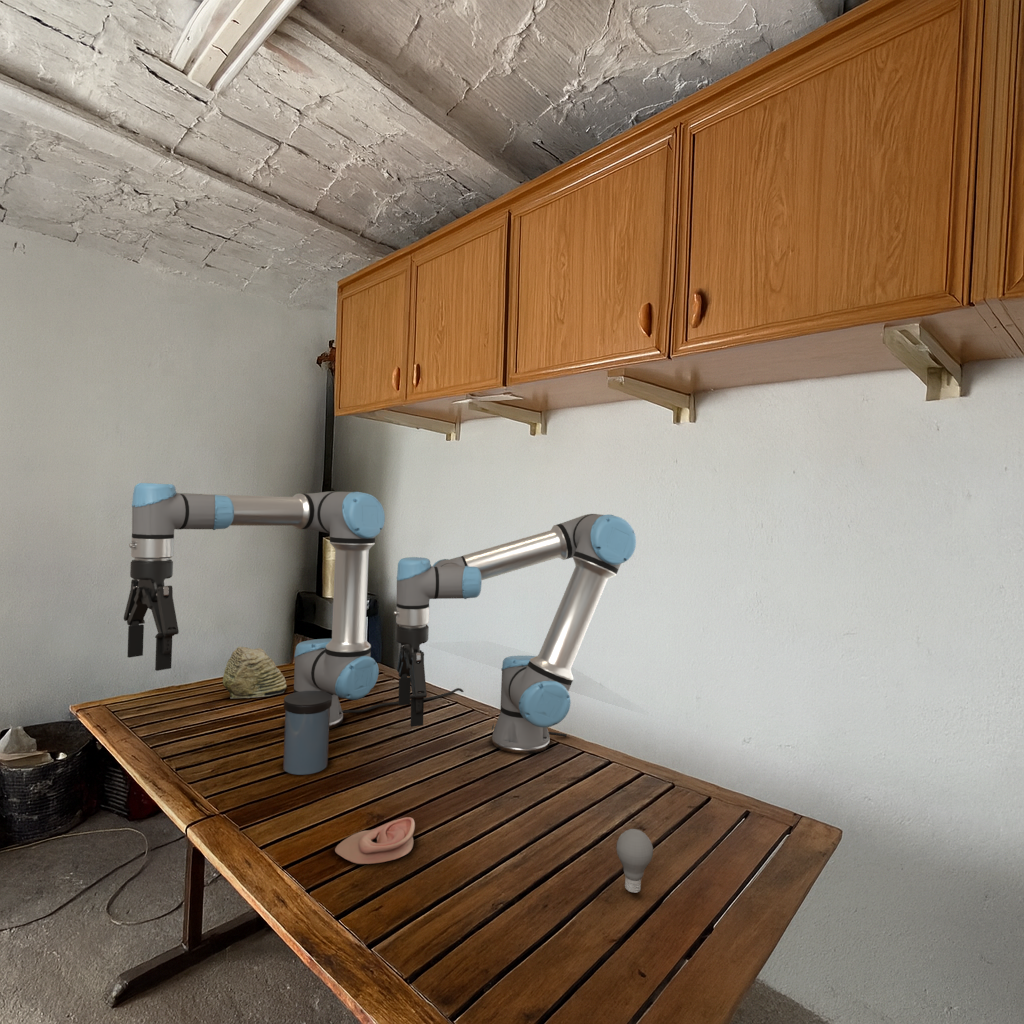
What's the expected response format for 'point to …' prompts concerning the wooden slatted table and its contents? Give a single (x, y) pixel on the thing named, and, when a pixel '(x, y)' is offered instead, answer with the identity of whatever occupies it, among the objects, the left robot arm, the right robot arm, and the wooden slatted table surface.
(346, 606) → the left robot arm
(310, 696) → the lid
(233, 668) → the fossil
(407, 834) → the anatomical model
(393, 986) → the wooden slatted table surface
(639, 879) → the light bulb
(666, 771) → the wooden slatted table surface
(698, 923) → the wooden slatted table surface
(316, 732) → the jar
